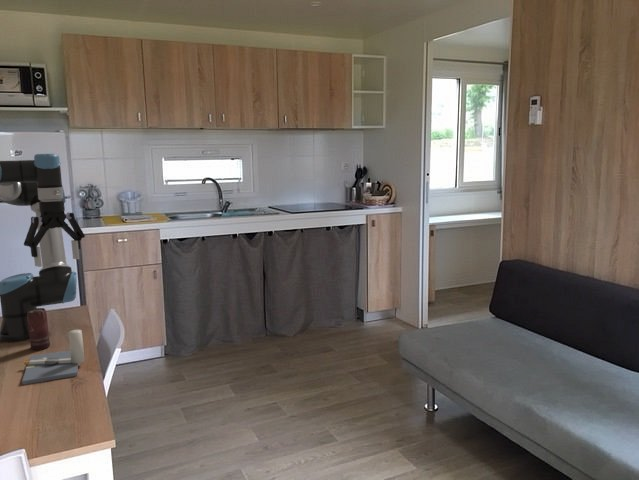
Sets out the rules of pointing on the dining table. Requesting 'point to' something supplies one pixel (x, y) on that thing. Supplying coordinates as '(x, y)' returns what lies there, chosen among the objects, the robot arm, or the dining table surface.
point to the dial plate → (49, 368)
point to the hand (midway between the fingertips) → (58, 262)
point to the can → (38, 329)
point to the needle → (75, 351)
